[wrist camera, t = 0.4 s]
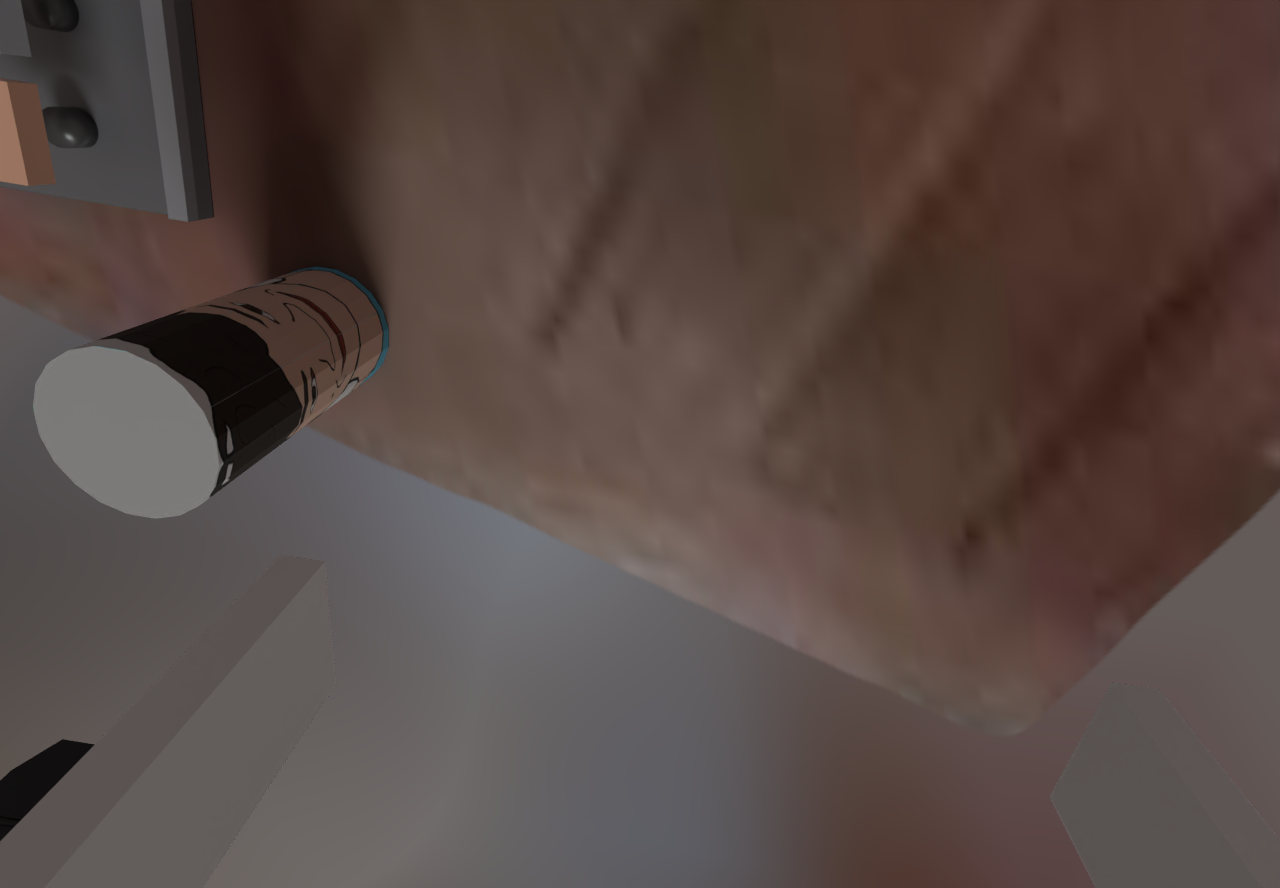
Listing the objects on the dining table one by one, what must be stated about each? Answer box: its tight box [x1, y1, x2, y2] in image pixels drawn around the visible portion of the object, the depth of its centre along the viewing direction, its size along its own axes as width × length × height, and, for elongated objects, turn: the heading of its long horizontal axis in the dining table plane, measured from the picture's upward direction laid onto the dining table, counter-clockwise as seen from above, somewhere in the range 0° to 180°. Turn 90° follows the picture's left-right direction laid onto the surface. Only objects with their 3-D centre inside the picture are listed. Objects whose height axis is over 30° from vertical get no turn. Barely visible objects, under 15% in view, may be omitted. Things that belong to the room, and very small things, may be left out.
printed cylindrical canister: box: [33, 266, 389, 518], centre depth 32 cm, size 7×7×15 cm
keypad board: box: [0, 0, 214, 222], centre depth 32 cm, size 17×11×2 cm, turn 172°
